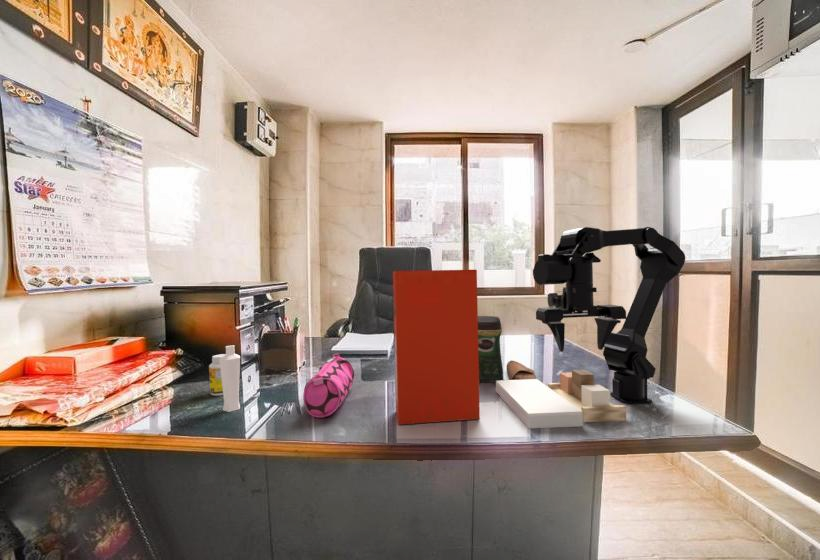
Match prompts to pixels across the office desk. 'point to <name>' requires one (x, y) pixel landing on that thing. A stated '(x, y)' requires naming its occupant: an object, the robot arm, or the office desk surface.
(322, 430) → the office desk surface
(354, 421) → the office desk surface
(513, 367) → the sunglasses case
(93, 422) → the office desk surface
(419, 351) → the file binder
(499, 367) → the coffee jar
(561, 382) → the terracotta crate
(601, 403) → the cream crate
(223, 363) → the white plastic bottle
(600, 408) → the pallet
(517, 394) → the white flat block
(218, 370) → the supplement bottle
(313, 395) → the pencil case
